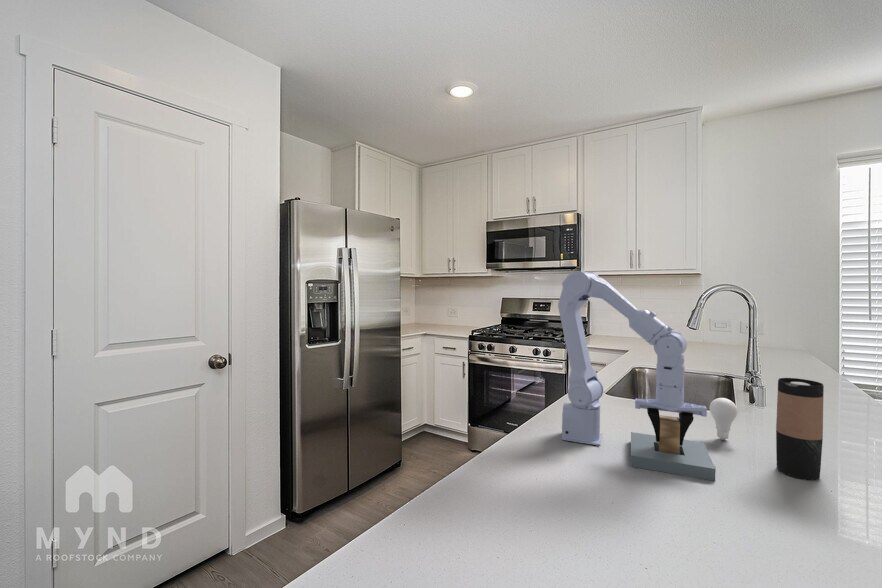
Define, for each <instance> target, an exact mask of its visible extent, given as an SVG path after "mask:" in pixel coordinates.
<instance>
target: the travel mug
mask: <svg viewBox="0 0 882 588" xmlns="http://www.w3.org/2000/svg"><path fill="white" fill-rule="evenodd" d="M824 392H825V391H824V384H823V383H821V382H819V381H815V380H810V379H805V378H796V377H794V378H793V377H781V378H778V380H777V400H776V403H777V404H776V421H775V422H776V425H775V427H776V428H775V429H776V430H775V431H776V432H775V433H776V434H775V441H776V443H775V445H776V447H775V449H776V450H775V451H776V469H777V471H778V472H780V473H781V474H783V475H785V476H788V477H790V478H794V479H798V480H802V481H819V479H820V477H821V470H822V469H821V468H822V451H823V450H822V449H823V437H824V436H823V435H824Z"/></svg>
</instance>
